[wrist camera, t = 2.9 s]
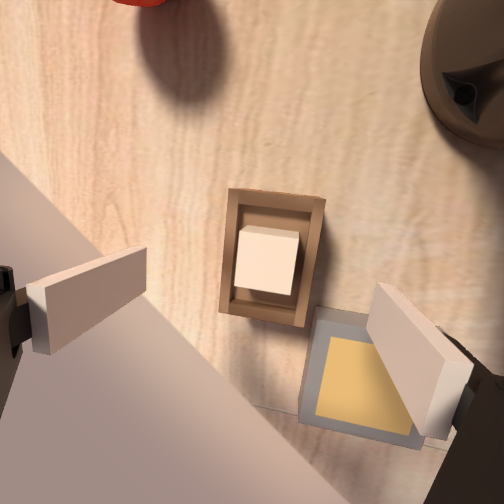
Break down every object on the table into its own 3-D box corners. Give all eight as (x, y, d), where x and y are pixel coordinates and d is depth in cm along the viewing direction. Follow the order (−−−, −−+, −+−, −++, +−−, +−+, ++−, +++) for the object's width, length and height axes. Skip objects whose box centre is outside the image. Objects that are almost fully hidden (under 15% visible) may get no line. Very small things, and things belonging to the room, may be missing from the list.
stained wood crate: (246, 188, 26) (228, 188, 19) (318, 196, 25) (326, 199, 18) (237, 283, 29) (218, 312, 22) (302, 293, 28) (303, 327, 21)
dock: (315, 305, 28) (317, 319, 25) (439, 326, 26) (457, 344, 23) (298, 400, 30) (298, 423, 28) (408, 424, 29) (421, 451, 26)
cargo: (247, 224, 21) (239, 230, 18) (298, 231, 20) (298, 239, 17) (242, 273, 22) (234, 285, 19) (291, 280, 21) (290, 295, 18)
